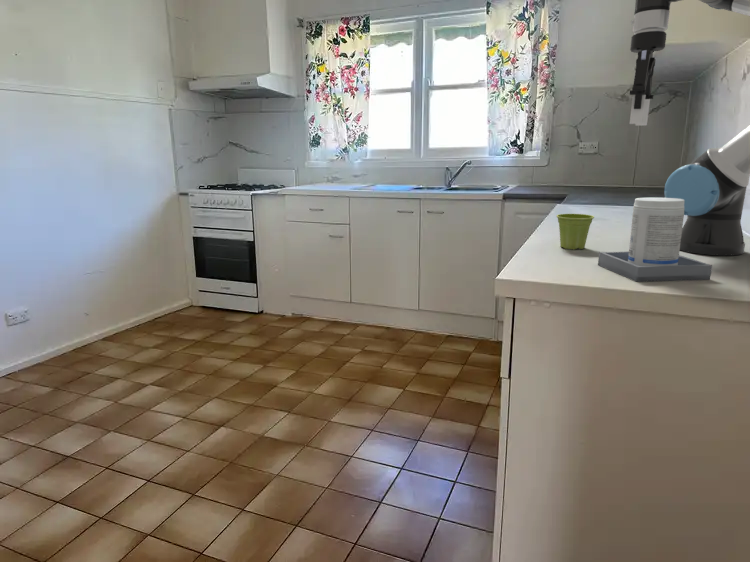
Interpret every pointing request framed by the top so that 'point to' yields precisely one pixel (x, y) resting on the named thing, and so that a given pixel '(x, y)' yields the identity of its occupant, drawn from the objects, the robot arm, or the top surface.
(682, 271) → the tray
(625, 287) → the top surface
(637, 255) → the supplement tub
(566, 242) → the plant pot
